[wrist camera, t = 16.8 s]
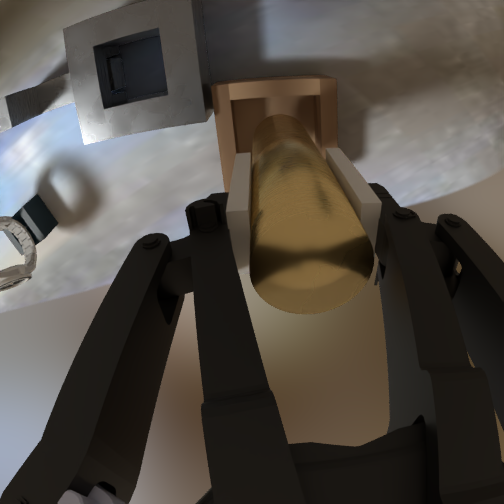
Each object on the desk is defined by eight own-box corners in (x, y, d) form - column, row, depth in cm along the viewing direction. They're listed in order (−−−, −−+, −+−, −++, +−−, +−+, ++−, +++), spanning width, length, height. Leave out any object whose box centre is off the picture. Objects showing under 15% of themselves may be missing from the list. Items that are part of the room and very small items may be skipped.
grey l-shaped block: (40, 113, 24) (-3, 134, 18) (35, 88, 22) (-10, 104, 17) (126, 86, 24) (90, 99, 18) (121, 57, 22) (83, 62, 16)
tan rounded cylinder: (255, 167, 23) (254, 317, 11) (250, 116, 21) (242, 218, 9) (308, 164, 23) (365, 308, 11) (306, 112, 21) (381, 209, 9)
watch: (43, 252, 34) (-1, 313, 25) (7, 203, 30) (-47, 256, 21) (68, 235, 32) (21, 300, 23) (29, 181, 28) (-31, 234, 19)
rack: (229, 178, 29) (225, 196, 26) (217, 81, 24) (210, 86, 20) (327, 171, 28) (336, 189, 25) (324, 75, 23) (336, 78, 20)
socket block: (109, 129, 26) (84, 144, 22) (91, 30, 20) (63, 29, 16) (214, 110, 25) (206, 121, 21) (201, 1, 19) (189, -10, 15)
